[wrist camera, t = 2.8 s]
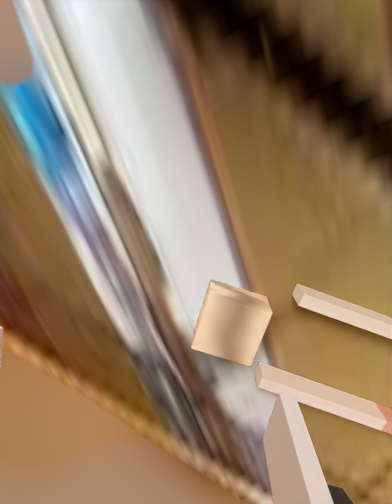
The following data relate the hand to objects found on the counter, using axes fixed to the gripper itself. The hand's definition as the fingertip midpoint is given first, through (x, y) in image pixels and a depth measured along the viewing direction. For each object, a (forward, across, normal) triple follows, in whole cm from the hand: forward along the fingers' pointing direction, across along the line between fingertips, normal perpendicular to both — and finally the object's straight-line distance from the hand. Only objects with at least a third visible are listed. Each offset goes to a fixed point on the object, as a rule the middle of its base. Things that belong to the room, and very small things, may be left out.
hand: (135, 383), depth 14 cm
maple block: (+22, +7, -6) cm, 24 cm away
